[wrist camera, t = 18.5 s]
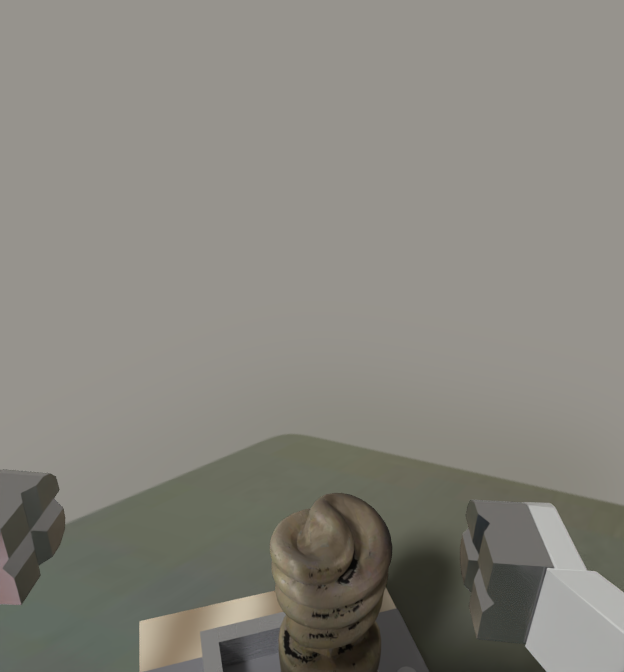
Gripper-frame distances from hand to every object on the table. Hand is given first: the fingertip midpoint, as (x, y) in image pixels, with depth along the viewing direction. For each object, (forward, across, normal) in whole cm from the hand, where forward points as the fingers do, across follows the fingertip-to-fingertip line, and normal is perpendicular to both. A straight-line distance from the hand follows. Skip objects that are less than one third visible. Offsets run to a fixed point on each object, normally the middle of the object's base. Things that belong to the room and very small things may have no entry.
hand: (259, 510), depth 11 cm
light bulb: (+10, -2, +25) cm, 27 cm away
